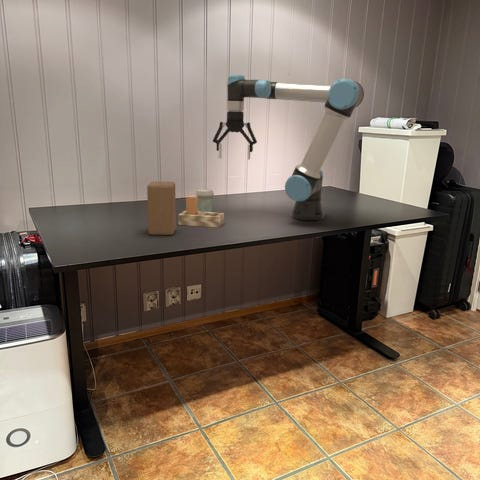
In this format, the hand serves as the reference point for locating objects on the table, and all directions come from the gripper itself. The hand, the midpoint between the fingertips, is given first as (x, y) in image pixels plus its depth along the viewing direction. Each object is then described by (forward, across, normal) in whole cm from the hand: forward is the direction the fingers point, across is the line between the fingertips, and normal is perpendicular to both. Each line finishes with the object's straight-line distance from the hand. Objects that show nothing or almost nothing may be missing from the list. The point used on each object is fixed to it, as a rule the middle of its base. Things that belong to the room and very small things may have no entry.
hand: (234, 158), depth 216 cm
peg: (+27, +14, +22) cm, 37 cm away
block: (+27, +22, +40) cm, 53 cm away
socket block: (+27, +10, +22) cm, 36 cm away
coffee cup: (+27, +13, +4) cm, 30 cm away
